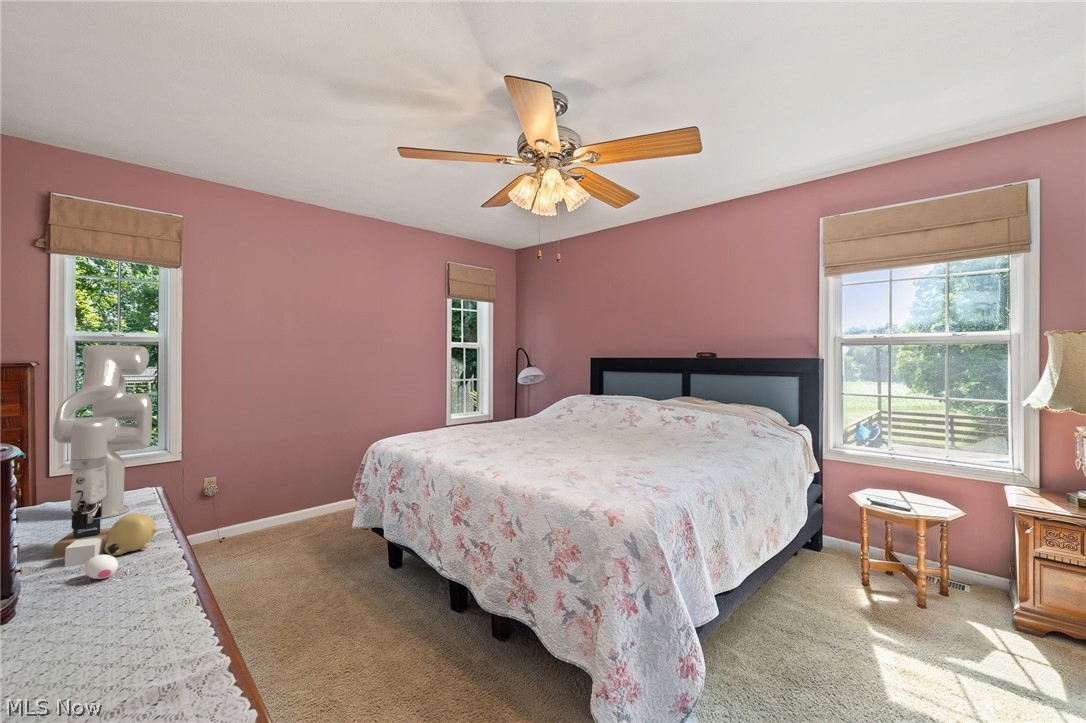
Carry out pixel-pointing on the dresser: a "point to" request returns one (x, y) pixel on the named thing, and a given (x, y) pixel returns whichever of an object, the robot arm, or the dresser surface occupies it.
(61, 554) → the walnut block
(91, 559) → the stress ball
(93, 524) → the watch
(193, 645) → the dresser surface
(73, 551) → the off-white block
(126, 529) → the beige rounded piece
